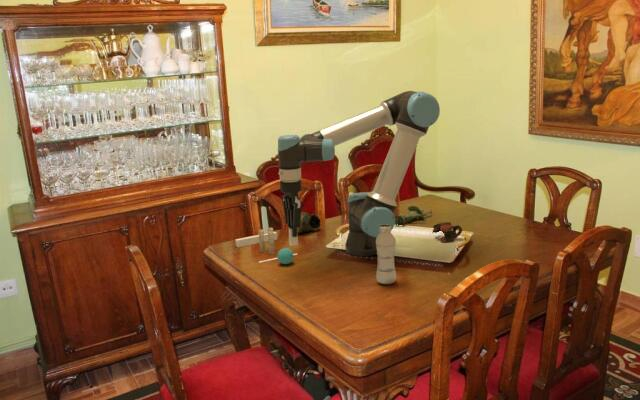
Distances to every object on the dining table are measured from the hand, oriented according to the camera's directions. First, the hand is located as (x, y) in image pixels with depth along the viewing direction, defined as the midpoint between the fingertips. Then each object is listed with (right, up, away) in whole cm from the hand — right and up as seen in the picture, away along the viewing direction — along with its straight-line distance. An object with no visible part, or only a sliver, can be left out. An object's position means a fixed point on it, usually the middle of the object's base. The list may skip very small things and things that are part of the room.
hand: (293, 244), depth 199 cm
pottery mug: (+61, 0, +29) cm, 68 cm away
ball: (-4, -5, +10) cm, 12 cm away
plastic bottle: (+32, -12, -12) cm, 36 cm away
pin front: (-10, -5, +23) cm, 26 cm away
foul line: (-7, -7, +17) cm, 20 cm away
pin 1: (-14, -5, +26) cm, 30 cm away
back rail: (-17, -2, +37) cm, 41 cm away
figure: (+52, +6, +57) cm, 77 cm away
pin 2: (-10, -4, +28) cm, 30 cm away
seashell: (+3, +1, +48) cm, 48 cm away
